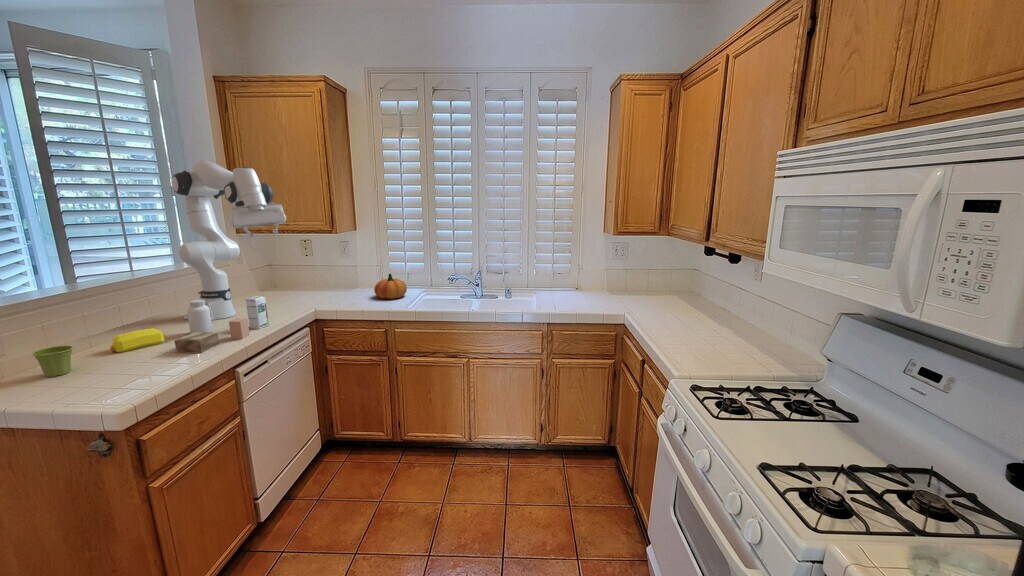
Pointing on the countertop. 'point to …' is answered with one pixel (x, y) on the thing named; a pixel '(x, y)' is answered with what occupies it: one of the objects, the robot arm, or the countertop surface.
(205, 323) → the pill bottle
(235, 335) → the terracotta block
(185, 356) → the countertop surface
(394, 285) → the pumpkin
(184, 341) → the pedestal
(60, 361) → the plant pot
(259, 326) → the syrup box
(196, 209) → the robot arm
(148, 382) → the countertop surface
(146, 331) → the yellow long rounded bar
